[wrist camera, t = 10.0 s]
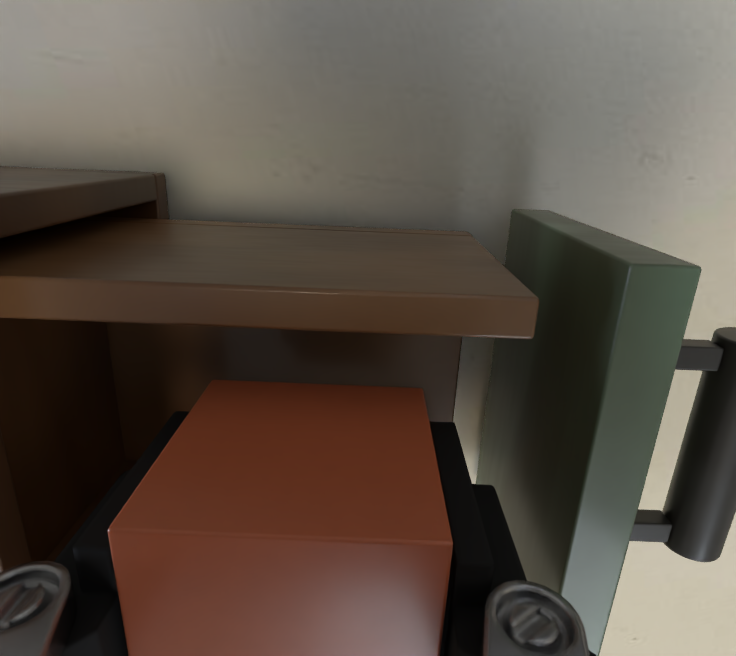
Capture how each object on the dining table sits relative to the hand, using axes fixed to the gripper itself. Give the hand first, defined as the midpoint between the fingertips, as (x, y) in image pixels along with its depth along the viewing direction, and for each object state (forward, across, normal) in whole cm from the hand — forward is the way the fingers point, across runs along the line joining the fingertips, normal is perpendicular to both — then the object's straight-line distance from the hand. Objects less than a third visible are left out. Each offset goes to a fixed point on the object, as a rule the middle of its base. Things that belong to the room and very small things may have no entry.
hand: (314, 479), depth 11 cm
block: (0, 0, 0) cm, 0 cm away
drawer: (+7, -1, 0) cm, 7 cm away
